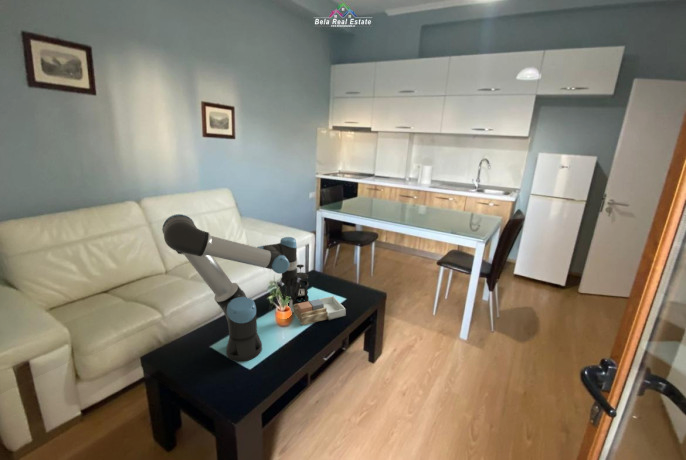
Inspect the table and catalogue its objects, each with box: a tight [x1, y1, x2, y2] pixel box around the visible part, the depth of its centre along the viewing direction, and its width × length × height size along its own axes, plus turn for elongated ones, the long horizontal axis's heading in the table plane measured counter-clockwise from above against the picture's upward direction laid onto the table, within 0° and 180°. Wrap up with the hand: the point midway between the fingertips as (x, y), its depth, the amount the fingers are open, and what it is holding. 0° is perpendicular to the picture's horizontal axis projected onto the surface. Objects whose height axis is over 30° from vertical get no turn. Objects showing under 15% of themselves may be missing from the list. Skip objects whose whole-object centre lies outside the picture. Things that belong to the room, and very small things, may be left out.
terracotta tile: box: [298, 301, 312, 313], centre depth 168 cm, size 6×6×3 cm
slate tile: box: [309, 298, 324, 310], centre depth 171 cm, size 6×6×3 cm
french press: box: [294, 264, 310, 304], centre depth 181 cm, size 12×9×23 cm
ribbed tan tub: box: [293, 300, 329, 326], centre depth 170 cm, size 14×14×6 cm
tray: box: [319, 295, 347, 321], centre depth 176 cm, size 10×16×4 cm, turn 27°
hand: (290, 310), depth 164 cm, fingers closed
